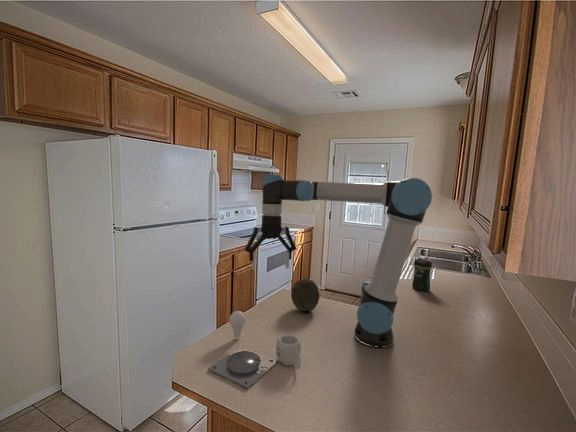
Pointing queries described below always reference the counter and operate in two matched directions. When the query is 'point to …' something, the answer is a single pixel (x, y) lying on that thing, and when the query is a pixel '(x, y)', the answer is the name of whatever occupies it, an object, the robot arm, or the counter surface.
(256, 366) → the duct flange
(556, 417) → the counter surface
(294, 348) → the mug
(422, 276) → the coffee jar
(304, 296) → the coconut
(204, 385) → the counter surface
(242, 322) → the lightbulb
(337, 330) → the counter surface
